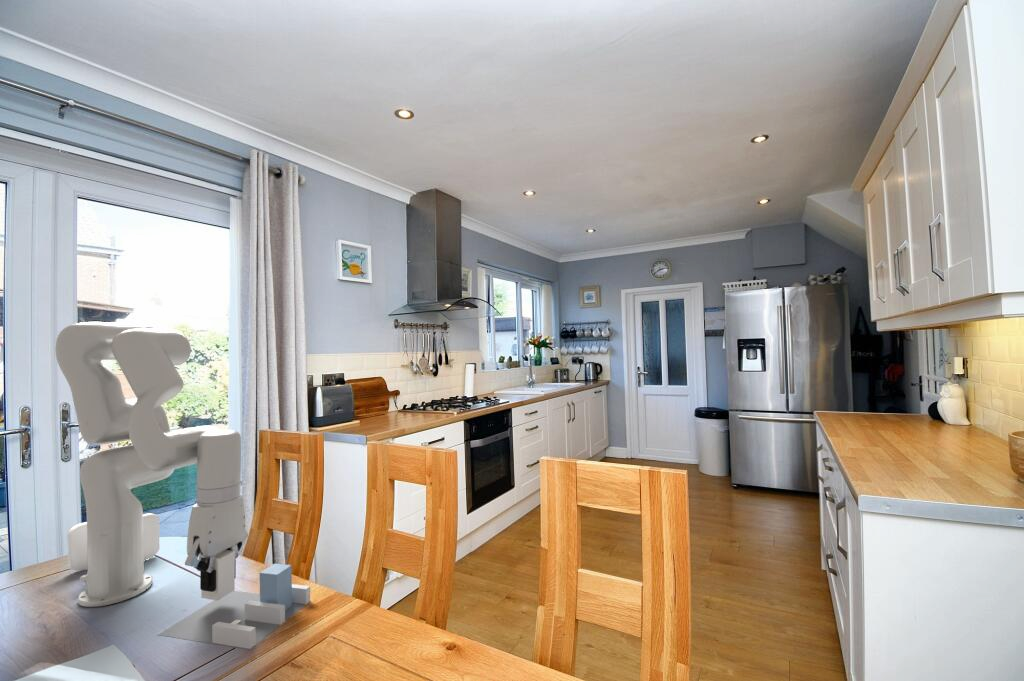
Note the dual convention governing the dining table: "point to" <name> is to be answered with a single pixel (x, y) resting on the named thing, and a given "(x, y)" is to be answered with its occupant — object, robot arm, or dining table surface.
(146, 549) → the cable organizer
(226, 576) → the off-white plug
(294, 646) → the dining table surface
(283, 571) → the blue plug
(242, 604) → the comb board
